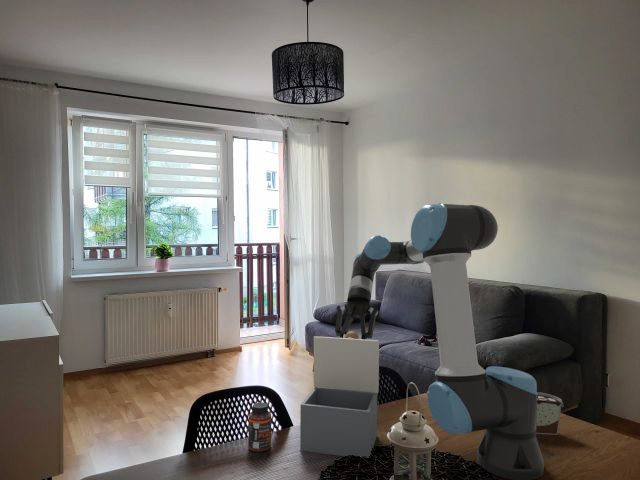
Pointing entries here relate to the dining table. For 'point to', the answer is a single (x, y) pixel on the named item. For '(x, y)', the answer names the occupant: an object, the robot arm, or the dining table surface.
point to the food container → (548, 414)
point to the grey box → (338, 422)
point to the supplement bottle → (259, 428)
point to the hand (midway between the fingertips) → (350, 355)
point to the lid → (346, 363)
